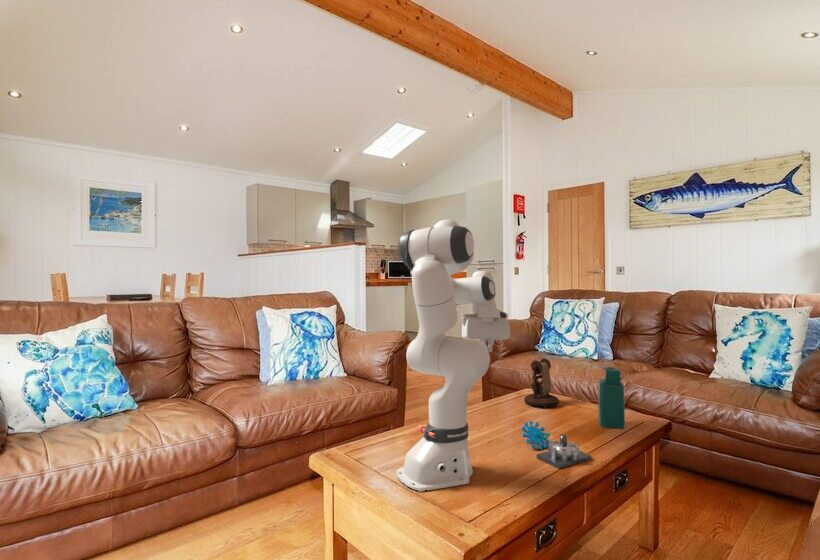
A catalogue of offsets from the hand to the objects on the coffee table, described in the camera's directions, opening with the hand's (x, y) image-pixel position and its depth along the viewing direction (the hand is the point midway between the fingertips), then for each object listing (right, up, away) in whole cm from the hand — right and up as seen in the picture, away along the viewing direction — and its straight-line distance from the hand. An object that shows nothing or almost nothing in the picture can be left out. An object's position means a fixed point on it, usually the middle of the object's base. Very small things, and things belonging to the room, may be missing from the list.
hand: (487, 351), depth 162 cm
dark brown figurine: (+30, -29, +34) cm, 54 cm away
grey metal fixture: (+19, -29, -25) cm, 43 cm away
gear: (+14, -30, -14) cm, 36 cm away
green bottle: (+48, -29, +5) cm, 56 cm away
